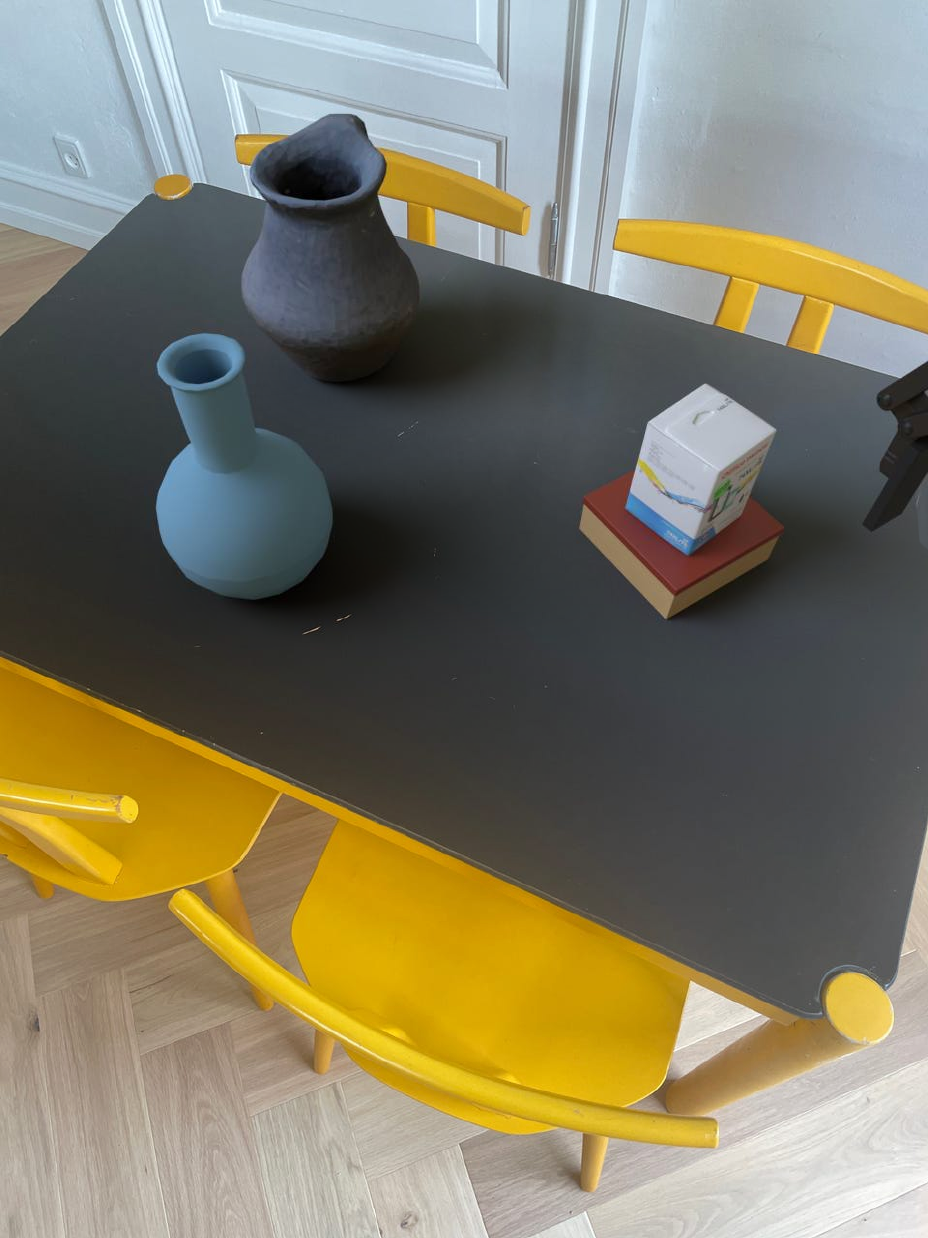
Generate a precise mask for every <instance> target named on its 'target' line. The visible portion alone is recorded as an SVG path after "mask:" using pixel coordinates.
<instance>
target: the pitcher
mask: <svg viewBox="0 0 928 1238" xmlns="http://www.w3.org/2000/svg"><path fill="white" fill-rule="evenodd" d="M368 134H369V133H368V130H367V127H366V123H365V121H364V120H363V119H361V118H360V117H359V116H358V115H356V114H352V113H329V114H326V115H324V116H322V117H320V118H319V119H317V120H316V121H314V122H312V123H310V124H308V125H307V126H305V127H304V128H302V129H300V130H298V131H296V132H295V133H292V134H290V135H288V136H286V137H284V138H282V139H279V140H277V141H274V142H272V143H269V144H267V145H265V146H264V147H263V148H261V149H260V150H259V151H258V152H257V153H256V155H255V157H254V158H253V160H252V162H251V164H250V167H249V170H248V172H249V179H250V182H251V184H252V186H253V187H254V189H256V191H257V192H258V194H259V196H261V197H262V198H263V200H265V201H266V206H265V209H264V215H263V222H262V229H261V231H260V235H259V238H258V240H257V242H256V243H255V245H254V246H253V248H252V250H251V252H250V253H249V255H248V258H247V259H246V260H245V261H246V262H245V265H244V267H243V270H242V272H241V273H242V274H241V282H240V287H241V297H242V300H243V303H244V307H245V308H246V311H247V313H248V315H249V316H250V318H251V320H252V321H253V323H254V324H255V326H257V328H258V329H259V330H260V331H261V332H262V333H263V334H265V335H266V336H267V337H268V338H269V339H270V340H271V341H272V342H273V343H274V344H275V346H276V347H278V349H280V350H281V352H282V353H283V354H284V355H286V357H288V358H289V360H290V361H292V362H293V363H294V364H296V365H297V366H298V368H300V369H301V370H302V371H303V372H304V373H306V374H307V375H308V376H309V377H311V378H313V379H314V380H315V379H316V380H318V381H322V382H329V383H337V382H338V383H339V382H352V381H356V380H359V379H361V378H364V377H367V376H369V375H371V374H374V373H375V372H377V371H379V370H381V369H382V368H383V367H384V366H385V365H387V363H388V362H389V361H390V360H391V359H392V357H393V355H394V354H395V352H396V350H397V348H398V347H399V345H400V344H401V342H402V341H403V339H404V338H405V337H406V335H407V333H408V331H409V330H410V328H411V326H412V324H413V322H414V320H415V318H416V314H417V311H418V310H419V309H418V308H419V304H420V300H421V299H420V283H419V278H418V274H417V272H416V269H415V268H414V265H413V263H412V261H411V259H410V257H409V256H408V254H407V253H406V252H405V251H404V250H403V249H402V248H401V246H400V245H399V243H398V240H397V238H396V237H395V234H394V233H393V231H392V229H391V227H390V225H389V224H388V221H387V219H386V216H385V214H384V211H383V208H382V206H381V203H380V198H379V192H380V189H381V187H382V186H383V183H384V182H385V178H386V174H387V169H388V163H387V161H386V157H385V155H384V154H383V153H382V151H381V150H379V149H377V148H376V146H375V145H374V144H373V142H372V141H371V140H370V137H369V135H368Z"/></svg>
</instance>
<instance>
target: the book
mask: <svg viewBox="0 0 928 1238" xmlns="http://www.w3.org/2000/svg"><path fill="white" fill-rule="evenodd" d="M635 470H636V469H634V470H632V471H630V472H628V473H626V474H624V475H622V476H620V477H618V478H616V479H614V480H613V481H611V482H608V483H606V484H604V485H603V486H601V487H599V488H597V489H595V490H593V491H591V492H589V493H587V494H585V495H583V498H582V504H583V507H582V512H581V518H580V524H579V530H580V532H581V533H582V534H584V536H585V537H586V538H587V539H588V540H589V542H591V543H592V544H593V545H594V547H596V548H597V549H598V550H599V551H600V553H602V555H604V556H605V558H606V559H607V560H608V561H609V562H610V563H611V564H612V565H613V566H614V567H615V568H616V570H618V571H619V572H620V573H621V574H622V575H623V576H624V577H625V579H627V581H628V582H629V583H630V584H631V585H632V586H633V587H634V588H635V589H636V590H637V591H638V592H639V593H640V594H641V596H642V597H644V598H645V600H646V601H647V602H648V603H649V604H650V605H651V606H652V607H653V608H654V609H655V610H656V611H657V612H658V613H659V614H660V615H661V616H662V618H663V619H665V620H669V619H670V618H671V617H673V616H675V615H677V614H678V613H680V612H681V611H683V610H685V609H687V608H688V607H690V606H692V605H693V604H695V603H697V602H699V601H700V600H702V599H704V598H705V597H707V596H708V595H710V594H712V593H713V592H715V591H717V590H718V589H720V588H722V587H724V586H725V585H727V584H729V583H730V582H732V581H734V580H736V579H737V578H739V577H741V576H742V575H744V574H745V573H747V572H749V571H750V570H752V569H753V568H756V567H758V565H760V564H762V563H764V562H766V561H767V560H769V559H770V557H771V554H772V551H774V547H775V546H776V544H777V541H778V539H779V538H780V536H781V535H782V534H784V530H785V529H786V528H785V526H784V525H783V524H782V523H780V522H779V521H778V520H777V519H776V518H774V516H773V515H771V513H769V512H768V511H767V510H766V509H765V508H764V507H762V506H761V505H760V504H759V503H758V502H757V501H756V500H755V499H753V498H752V497H751V496H750V495H749V497H748V500H747V502H746V505H745V507H744V509H743V512H742V514H741V516H740V517H738V518H737V519H736V520H734V521H733V522H732V523H730V524H729V525H728V526H727V527H725V528H724V529H723V530H721V531H720V532H719V533H717V534H716V535H715V536H714V537H712V538H711V539H710V540H708V541H707V542H706V543H705V544H703V545H702V546H701V547H699V548H698V549H697V550H695V551H694V552H693V553H692V554H690V555H689V556H687V555H685V554H684V553H683V552H681V551H680V550H679V549H677V548H676V547H674V546H673V545H672V544H670V543H669V542H668V541H666V540H665V539H664V538H662V537H661V536H660V535H658V534H657V533H656V532H655V531H653V530H652V529H651V528H649V527H648V526H647V525H646V524H644V523H643V522H642V521H641V520H639V519H638V518H637V517H635V516H634V515H633V514H632V513H630V512H629V511H628V510H627V509H626V504H627V500H628V496H629V493H630V489H631V485H632V481H633V477H634V474H635Z"/></svg>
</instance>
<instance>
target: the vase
mask: <svg viewBox="0 0 928 1238" xmlns="http://www.w3.org/2000/svg"><path fill="white" fill-rule="evenodd" d="M245 362H246V355H245V350H244V347H243V346H242V345H241V344H240V343H239V342H238V340H236V339H234V338H232V337H229V336H226V335H223V334H218V333H207V332H204V333H197V334H192V335H187V336H185V337H183V338H181V339H179V340H175V341H174V342H172V343H170V345H168V346H167V347H166V348H165V349H164V350H163V351H162V352H161V354H160V356H159V358H158V359H157V362H156V368H157V374H158V376H159V377H160V378H161V379H162V380H163V382H164V383H165V384H166V385H167V386H169V387H170V389H171V393H172V396H173V398H174V402H175V405H176V408H177V410H178V413H179V415H180V418H181V422H182V425H183V426H184V429H185V432H186V434H187V437H188V439H189V441H190V443H189V444H187V445H186V446H185V447H184V448H183V450H181V451H180V452H179V454H177V455H176V456H175V458H174V459H172V461H171V463H170V465H169V467H168V469H167V471H166V474H165V476H164V478H163V480H162V483H161V484H160V486H159V490H158V492H157V497H156V505H155V510H156V517H157V523H158V529H159V530H158V531H159V535H160V537H161V541H162V544H163V546H164V547H165V550H166V551H167V552H168V554H169V556H170V557H171V558H172V560H173V561H174V562H175V564H176V565H177V567H178V568H179V570H181V572H182V573H183V574H184V576H185V577H186V578H187V579H188V580H190V581H192V582H193V583H194V584H196V585H198V586H201V587H202V588H205V589H207V590H208V591H211V592H213V593H215V594H218V595H220V596H223V597H227V598H234V599H243V600H252V601H256V600H260V599H265V598H269V597H274V596H278V595H280V594H282V593H284V592H286V591H288V590H290V589H291V588H293V587H295V586H296V585H298V584H300V583H302V582H303V581H304V580H305V579H306V578H307V577H308V575H309V574H310V573H311V572H312V571H313V569H314V568H315V567H316V566H317V564H318V563H319V562H320V560H321V559H322V558H323V556H324V554H325V552H326V550H327V547H328V543H329V540H330V537H331V536H330V535H331V531H332V528H333V524H334V519H333V516H334V515H333V514H334V513H333V506H332V502H331V499H330V494H329V490H328V485H327V482H326V479H325V475H324V472H322V470H321V469H320V468H319V466H317V464H316V463H315V462H314V460H313V459H312V458H311V457H310V456H309V455H308V454H307V452H306V451H305V450H304V449H303V448H302V446H301V445H300V444H299V443H297V442H296V441H294V440H292V439H291V438H289V437H286V436H284V435H281V434H278V433H276V432H273V431H271V430H268V429H265V428H259V427H256V426H255V420H254V415H253V410H252V406H251V402H250V398H249V393H248V389H247V388H248V387H247V385H246V380H245V377H244V374H243V368H244V365H245Z"/></svg>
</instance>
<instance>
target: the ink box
mask: <svg viewBox="0 0 928 1238" xmlns="http://www.w3.org/2000/svg"><path fill="white" fill-rule="evenodd" d="M777 431H778V430H777V428H775V427H774V426H773V425H771V424H770V423H768V422H767V421H765V420H764V419H763V418H761V417H760V416H758V415H757V414H755V413H754V412H752V411H751V410H749V409H748V408H746V407H745V406H743V405H742V404H740V403H738V402H737V401H736V400H734V399H733V398H731V397H729V396H728V395H726V394H725V393H723V392H721V391H720V390H718V389H717V388H715V387H713V386H712V385H710V384H708V383H704V384H701V386H699V387H698V388H696V389H694V390H693V391H691V392H690V393H689V394H687V395H685V396H684V397H683V398H681V399H680V400H679V401H677V402H675V403H674V404H672V405H671V406H669V407H668V408H666V409H665V410H664V411H662V412H661V413H659V414H657V416H655V417H653V418H652V419H651V420H649V421H647V425H646V429H645V432H644V436H643V439H642V440H643V441H642V443H641V447H640V452H639V455H638V459H637V462H636V466H635V469H634V470H635V474H634V477H633V481H632V485H631V489H630V493H629V496H628V500H627V504H626V509H627V510H628V511H629V512H630V513H632V514H633V515H634V516H635V517H637V518H638V519H639V520H641V521H642V522H643V523H644V524H646V525H647V526H648V527H649V528H651V529H652V530H653V531H655V532H656V533H657V534H658V535H660V536H661V537H662V538H664V539H665V540H666V541H668V542H669V543H670V544H672V545H673V546H674V547H676V548H677V549H679V550H680V551H681V552H683V553H684V554H685V555H687V556H689V555H690V554H692V553H693V552H694V551H695V550H697V549H698V548H699V547H701V546H702V545H703V544H705V543H706V542H707V541H708V540H710V539H711V538H712V537H714V536H715V535H716V534H717V533H719V532H720V531H721V530H723V529H724V528H725V527H727V526H728V525H729V524H730V523H732V522H733V521H734V520H736V519H737V518H738V517H740V516H741V514H742V512H743V509H744V507H745V505H746V502H747V500H748V497H749V496H750V495H751V492H752V491H753V487H754V485H755V484H756V483H755V482H756V480H757V478H758V476H759V473H760V471H761V468H762V466H763V464H764V461H765V459H766V456H767V454H768V452H769V450H770V447H771V445H772V442H773V441H774V438H775V436H776V434H777Z"/></svg>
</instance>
